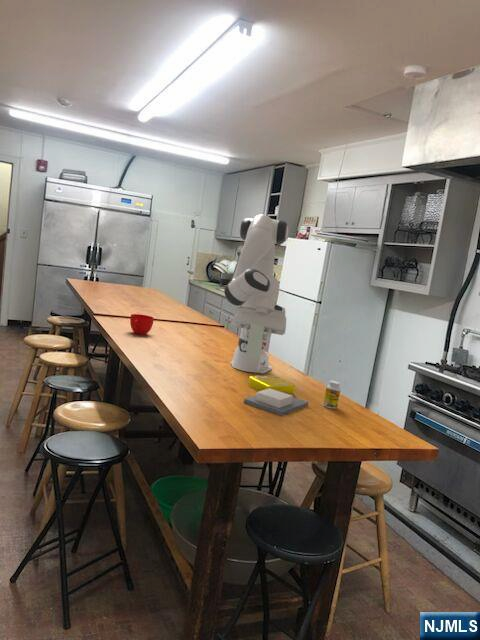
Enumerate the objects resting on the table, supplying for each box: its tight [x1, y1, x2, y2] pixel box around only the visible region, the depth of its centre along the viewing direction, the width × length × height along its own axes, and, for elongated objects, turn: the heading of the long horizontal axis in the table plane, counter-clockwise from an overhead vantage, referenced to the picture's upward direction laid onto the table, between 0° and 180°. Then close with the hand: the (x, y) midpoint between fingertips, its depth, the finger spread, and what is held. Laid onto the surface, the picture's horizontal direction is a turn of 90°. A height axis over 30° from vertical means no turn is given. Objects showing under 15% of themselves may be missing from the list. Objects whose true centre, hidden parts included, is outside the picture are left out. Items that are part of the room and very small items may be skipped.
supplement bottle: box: [322, 380, 341, 409], centre depth 196 cm, size 6×6×10 cm
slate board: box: [243, 388, 309, 417], centre depth 188 cm, size 22×16×4 cm
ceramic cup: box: [129, 313, 155, 336], centre depth 279 cm, size 13×17×10 cm
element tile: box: [247, 375, 296, 396], centre depth 208 cm, size 15×15×5 cm
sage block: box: [245, 323, 265, 359], centre depth 185 cm, size 5×5×12 cm
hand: (255, 338), depth 184 cm, fingers closed on sage block, 5 cm apart
